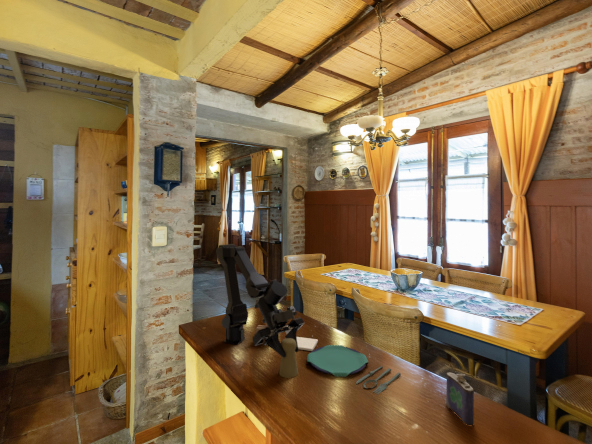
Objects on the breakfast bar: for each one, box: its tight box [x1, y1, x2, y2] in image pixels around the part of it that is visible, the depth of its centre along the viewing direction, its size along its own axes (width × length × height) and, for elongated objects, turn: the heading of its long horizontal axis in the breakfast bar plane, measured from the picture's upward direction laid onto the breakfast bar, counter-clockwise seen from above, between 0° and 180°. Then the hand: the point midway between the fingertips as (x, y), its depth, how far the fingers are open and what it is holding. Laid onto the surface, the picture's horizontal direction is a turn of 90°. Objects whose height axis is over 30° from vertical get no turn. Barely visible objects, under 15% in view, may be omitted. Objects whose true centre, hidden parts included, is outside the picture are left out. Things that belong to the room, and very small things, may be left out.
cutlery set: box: [306, 344, 401, 395], centre depth 104 cm, size 20×30×2 cm, turn 43°
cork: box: [278, 338, 299, 379], centre depth 100 cm, size 6×6×11 cm
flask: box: [445, 372, 475, 426], centre depth 80 cm, size 9×3×11 cm, turn 8°
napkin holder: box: [255, 324, 268, 344], centre depth 124 cm, size 8×3×6 cm, turn 83°
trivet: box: [296, 336, 319, 352], centre depth 122 cm, size 9×9×1 cm
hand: (291, 354), depth 99 cm, fingers closed on cork, 5 cm apart
